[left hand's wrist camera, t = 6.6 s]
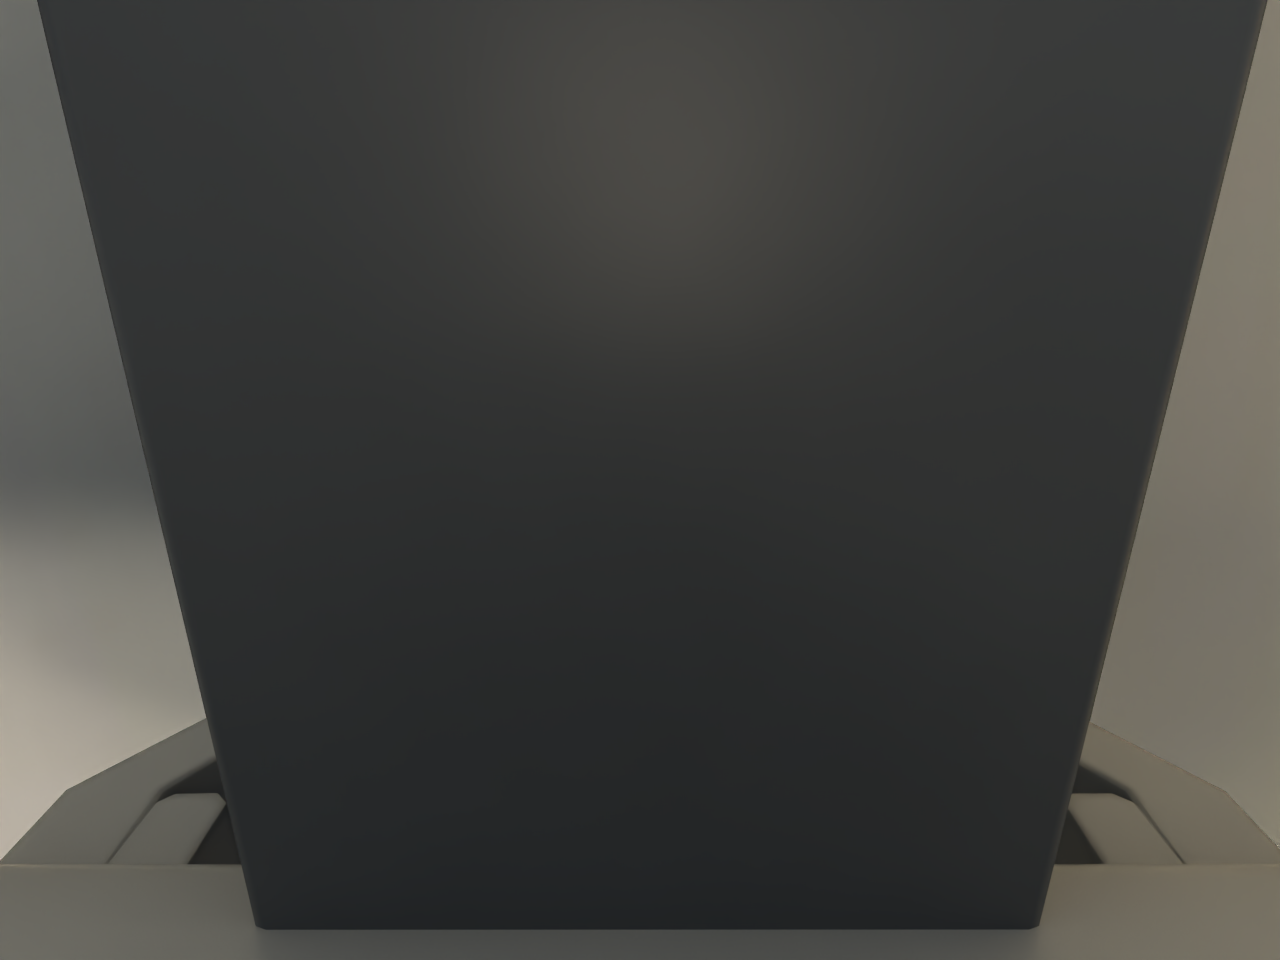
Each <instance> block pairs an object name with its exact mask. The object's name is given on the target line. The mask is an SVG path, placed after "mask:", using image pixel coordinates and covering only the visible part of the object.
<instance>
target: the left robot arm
mask: <svg viewBox="0 0 1280 960" xmlns="http://www.w3.org/2000/svg"><path fill="white" fill-rule="evenodd" d="M0 960H1280V849H1279V848H1278V847H1277V846H1276V845H1275V844H1274V843H1273V842H1272V841H1271V840H1270V838H1269V837H1268V836H1267V835H1266V834H1265V833H1264V832H1263V831H1262V830H1261V829H1260V828H1259V827H1258V826H1257V825H1256V824H1255V823H1254V821H1253V820H1252V819H1251V818H1250V817H1249V816H1248V815H1247V814H1246V813H1245V812H1244V811H1243V810H1242V809H1241V808H1240V807H1239V806H1238V804H1237V803H1236V802H1235V801H1234V800H1233V799H1232V798H1231V797H1230V796H1229V795H1228V794H1227V793H1226V792H1225V791H1224V790H1222V789H1220V788H1218V787H1216V786H1214V785H1212V784H1210V783H1208V782H1206V781H1204V780H1202V779H1200V778H1198V777H1196V776H1194V775H1192V774H1190V773H1188V772H1186V771H1184V770H1182V769H1181V768H1179V767H1177V766H1175V765H1173V764H1171V763H1169V762H1167V761H1165V760H1163V759H1161V758H1159V757H1157V756H1155V755H1153V754H1151V753H1149V752H1147V751H1145V750H1143V749H1141V748H1139V747H1137V746H1136V745H1134V744H1132V743H1130V742H1128V741H1126V740H1124V739H1122V738H1120V737H1118V736H1116V735H1114V734H1112V733H1110V732H1108V731H1106V730H1104V729H1102V728H1100V727H1098V726H1096V725H1094V724H1093V723H1091V722H1089V725H1088V729H1087V733H1086V737H1085V742H1084V746H1083V750H1082V754H1081V758H1080V762H1079V766H1078V770H1077V774H1076V778H1075V782H1074V786H1073V790H1072V794H1071V798H1070V802H1069V806H1068V810H1067V814H1066V818H1065V823H1064V827H1063V831H1062V835H1061V839H1060V843H1059V847H1058V851H1057V855H1056V859H1055V863H1054V867H1053V871H1052V875H1051V879H1050V883H1049V887H1048V891H1047V895H1046V899H1045V904H1044V908H1043V912H1042V916H1041V920H1040V924H1039V926H1037V927H1035V928H1032V929H1029V930H265V929H262V928H260V927H257V926H256V925H255V921H254V917H253V912H252V908H251V904H250V900H249V895H248V891H247V887H246V883H245V879H244V874H243V870H242V866H241V862H240V857H239V853H238V849H237V845H236V840H235V836H234V832H233V828H232V823H231V819H230V815H229V811H228V807H227V802H226V798H225V794H224V790H223V785H222V781H221V777H220V773H219V768H218V764H217V760H216V756H215V751H214V747H213V743H212V739H211V735H210V730H209V726H208V722H207V718H206V719H204V720H202V721H200V722H198V723H196V724H194V725H192V726H190V727H188V728H186V729H184V730H182V731H180V732H178V733H176V734H174V735H172V736H171V737H169V738H167V739H165V740H163V741H161V742H159V743H157V744H155V745H153V746H151V747H149V748H147V749H145V750H143V751H141V752H139V753H137V754H136V755H134V756H132V757H130V758H128V759H126V760H124V761H122V762H120V763H118V764H116V765H114V766H112V767H110V768H108V769H106V770H104V771H102V772H101V773H99V774H97V775H95V776H93V777H91V778H89V779H87V780H85V781H83V782H81V783H79V784H77V785H75V786H73V787H71V788H69V789H67V790H66V791H65V792H64V793H63V794H62V795H61V796H60V797H59V799H58V800H57V801H56V802H55V803H54V804H53V805H52V806H51V807H50V808H49V809H48V810H47V811H46V812H45V814H44V815H43V816H42V817H41V818H40V819H39V820H38V821H37V822H36V823H35V824H34V825H33V826H32V827H31V829H30V830H29V831H28V832H27V833H26V834H25V835H24V836H23V837H22V838H21V839H20V840H19V841H18V843H17V844H16V845H15V846H14V847H13V848H12V849H11V850H10V851H9V852H8V853H7V854H6V855H5V856H4V858H3V859H2V860H1V861H0Z"/></svg>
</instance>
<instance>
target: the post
mask: <svg viewBox="0 0 1280 960" xmlns="http://www.w3.org/2000/svg"><path fill="white" fill-rule="evenodd" d="M37 2H38V6H39V10H40V15H41V19H42V23H43V27H44V31H45V36H46V40H47V44H48V48H49V53H50V57H51V61H52V65H53V70H54V74H55V78H56V82H57V87H58V91H59V95H60V99H61V103H62V108H63V112H64V116H65V120H66V125H67V129H68V133H69V137H70V142H71V146H72V150H73V154H74V159H75V163H76V167H77V171H78V175H79V180H80V184H81V188H82V192H83V197H84V201H85V205H86V209H87V214H88V218H89V222H90V226H91V231H92V235H93V239H94V243H95V247H96V252H97V256H98V260H99V264H100V269H101V273H102V277H103V281H104V286H105V290H106V294H107V298H108V303H109V307H110V311H111V315H112V319H113V324H114V328H115V332H116V336H117V341H118V345H119V349H120V353H121V358H122V362H123V366H124V370H125V375H126V379H127V383H128V387H129V391H130V396H131V400H132V404H133V408H134V413H135V417H136V421H137V425H138V430H139V434H140V438H141V442H142V447H143V451H144V455H145V459H146V463H147V468H148V472H149V476H150V480H151V485H152V489H153V493H154V497H155V502H156V506H157V510H158V514H159V519H160V523H161V527H162V531H163V535H164V540H165V544H166V548H167V552H168V557H169V561H170V565H171V569H172V574H173V578H174V582H175V586H176V591H177V595H178V599H179V603H180V607H181V612H182V616H183V620H184V624H185V629H186V633H187V637H188V641H189V646H190V650H191V654H192V658H193V663H194V667H195V671H196V675H197V679H198V684H199V688H200V692H201V696H202V701H203V705H204V709H205V713H206V718H207V722H208V726H209V730H210V735H211V739H212V743H213V747H214V751H215V756H216V760H217V764H218V768H219V773H220V777H221V781H222V785H223V790H224V794H225V798H226V802H227V807H228V811H229V815H230V819H231V823H232V828H233V832H234V836H235V840H236V845H237V849H238V853H239V857H240V862H241V866H242V870H243V874H244V879H245V883H246V887H247V891H248V895H249V900H250V904H251V908H252V912H253V917H254V921H255V925H256V926H257V927H260V928H262V929H265V930H1029V929H1032V928H1035V927H1037V926H1039V924H1040V920H1041V916H1042V912H1043V908H1044V904H1045V899H1046V895H1047V891H1048V887H1049V883H1050V879H1051V875H1052V871H1053V867H1054V863H1055V859H1056V855H1057V851H1058V847H1059V843H1060V839H1061V835H1062V831H1063V827H1064V823H1065V818H1066V814H1067V810H1068V806H1069V802H1070V798H1071V794H1072V790H1073V786H1074V782H1075V778H1076V774H1077V770H1078V766H1079V762H1080V758H1081V754H1082V750H1083V746H1084V742H1085V737H1086V733H1087V729H1088V725H1089V721H1090V717H1091V713H1092V709H1093V705H1094V701H1095V697H1096V693H1097V689H1098V685H1099V681H1100V677H1101V673H1102V669H1103V665H1104V660H1105V656H1106V652H1107V648H1108V644H1109V640H1110V636H1111V632H1112V628H1113V624H1114V620H1115V616H1116V612H1117V608H1118V604H1119V600H1120V596H1121V592H1122V588H1123V584H1124V579H1125V575H1126V571H1127V567H1128V563H1129V559H1130V555H1131V551H1132V547H1133V543H1134V539H1135V535H1136V531H1137V527H1138V523H1139V519H1140V515H1141V511H1142V507H1143V503H1144V498H1145V494H1146V490H1147V486H1148V482H1149V478H1150V474H1151V470H1152V466H1153V462H1154V458H1155V454H1156V450H1157V446H1158V442H1159V438H1160V434H1161V430H1162V426H1163V422H1164V417H1165V413H1166V409H1167V405H1168V401H1169V397H1170V393H1171V389H1172V385H1173V381H1174V377H1175V373H1176V369H1177V365H1178V361H1179V357H1180V353H1181V349H1182V345H1183V340H1184V336H1185V332H1186V328H1187V324H1188V320H1189V316H1190V312H1191V308H1192V304H1193V300H1194V296H1195V292H1196V288H1197V284H1198V280H1199V276H1200V272H1201V268H1202V264H1203V259H1204V255H1205V251H1206V247H1207V243H1208V239H1209V235H1210V231H1211V227H1212V223H1213V219H1214V215H1215V211H1216V207H1217V203H1218V199H1219V195H1220V191H1221V187H1222V183H1223V178H1224V174H1225V170H1226V166H1227V162H1228V158H1229V154H1230V150H1231V146H1232V142H1233V138H1234V134H1235V130H1236V126H1237V122H1238V118H1239V114H1240V110H1241V106H1242V102H1243V97H1244V93H1245V89H1246V85H1247V81H1248V77H1249V73H1250V69H1251V65H1252V61H1253V57H1254V53H1255V49H1256V45H1257V41H1258V37H1259V33H1260V29H1261V25H1262V21H1263V16H1264V12H1265V8H1266V4H1267V0H37Z"/></svg>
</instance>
